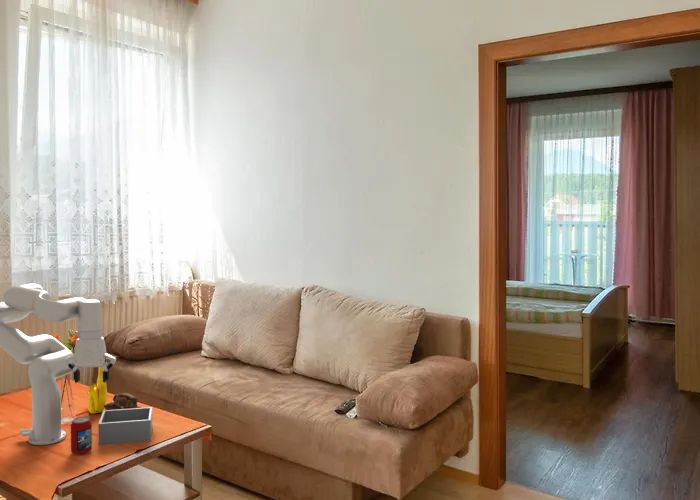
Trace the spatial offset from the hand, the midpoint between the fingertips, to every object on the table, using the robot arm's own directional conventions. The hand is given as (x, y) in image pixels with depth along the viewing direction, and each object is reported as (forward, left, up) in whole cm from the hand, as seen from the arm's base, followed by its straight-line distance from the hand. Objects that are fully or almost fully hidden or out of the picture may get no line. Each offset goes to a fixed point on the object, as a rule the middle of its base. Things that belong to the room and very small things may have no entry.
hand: (91, 381), depth 211 cm
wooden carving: (+8, +27, -25) cm, 38 cm away
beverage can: (-3, -4, -25) cm, 25 cm away
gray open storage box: (+11, +8, -24) cm, 28 cm away
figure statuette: (-3, +37, -25) cm, 45 cm away
